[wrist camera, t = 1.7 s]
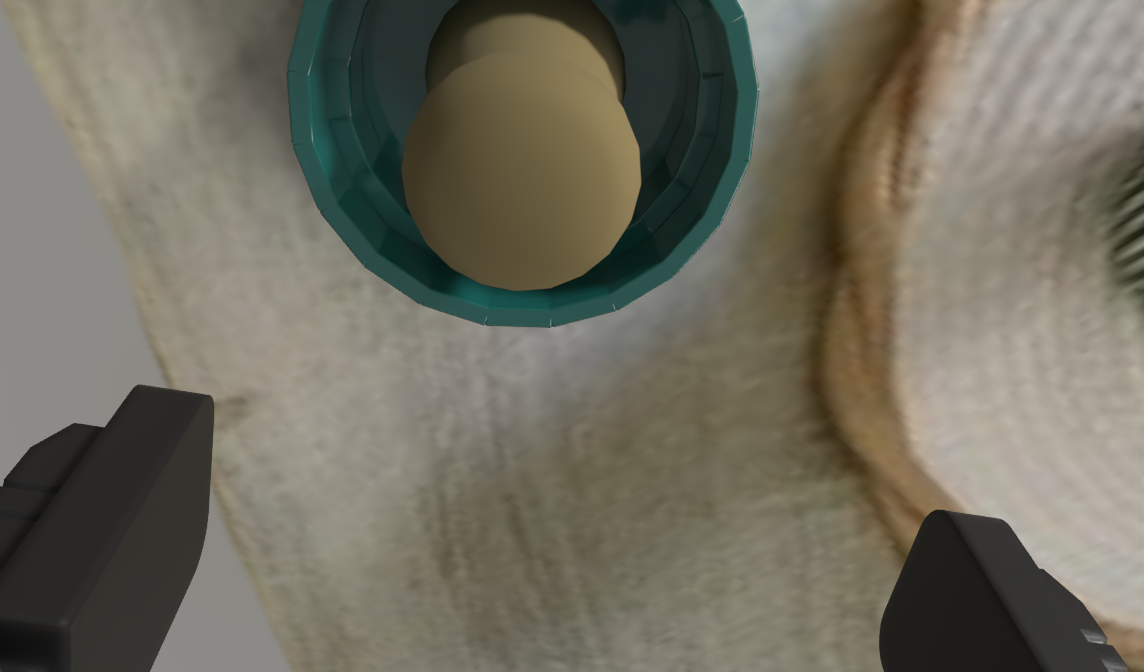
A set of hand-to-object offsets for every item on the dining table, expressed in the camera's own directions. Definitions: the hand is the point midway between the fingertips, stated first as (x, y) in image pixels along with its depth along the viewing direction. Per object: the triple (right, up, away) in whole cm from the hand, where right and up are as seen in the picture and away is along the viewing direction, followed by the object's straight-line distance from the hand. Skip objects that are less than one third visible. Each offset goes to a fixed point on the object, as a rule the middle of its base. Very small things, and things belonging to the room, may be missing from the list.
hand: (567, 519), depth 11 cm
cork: (-1, +10, +20) cm, 22 cm away
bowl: (-1, +10, +20) cm, 22 cm away
